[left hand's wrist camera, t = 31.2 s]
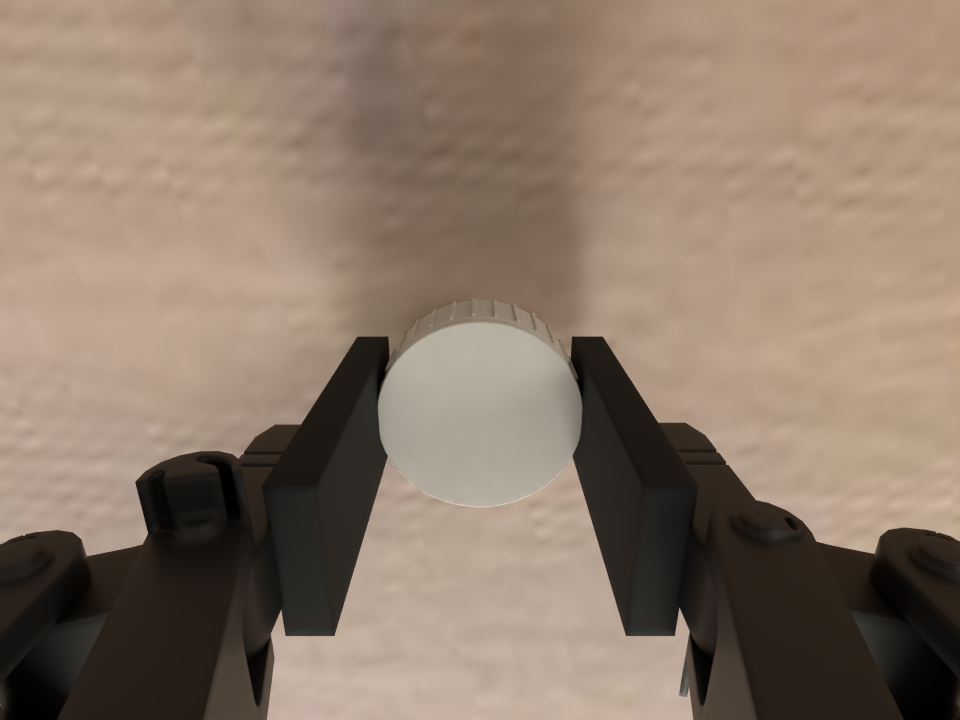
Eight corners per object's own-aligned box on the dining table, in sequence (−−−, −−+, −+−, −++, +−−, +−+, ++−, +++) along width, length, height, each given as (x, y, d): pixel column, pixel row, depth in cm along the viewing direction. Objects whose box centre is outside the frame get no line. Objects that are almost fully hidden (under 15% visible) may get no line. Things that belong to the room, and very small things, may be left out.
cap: (378, 456, 15) (365, 495, 13) (396, 282, 13) (384, 303, 12) (552, 478, 15) (562, 521, 13) (591, 312, 14) (607, 336, 12)
